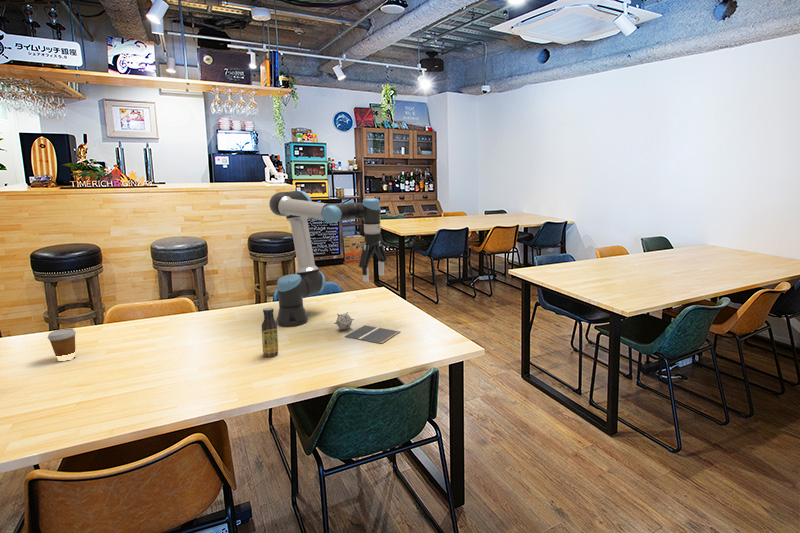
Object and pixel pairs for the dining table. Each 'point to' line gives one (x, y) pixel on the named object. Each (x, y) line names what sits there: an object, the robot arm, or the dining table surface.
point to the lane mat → (373, 334)
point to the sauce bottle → (269, 334)
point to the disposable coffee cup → (63, 341)
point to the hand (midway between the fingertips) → (373, 278)
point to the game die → (343, 321)
